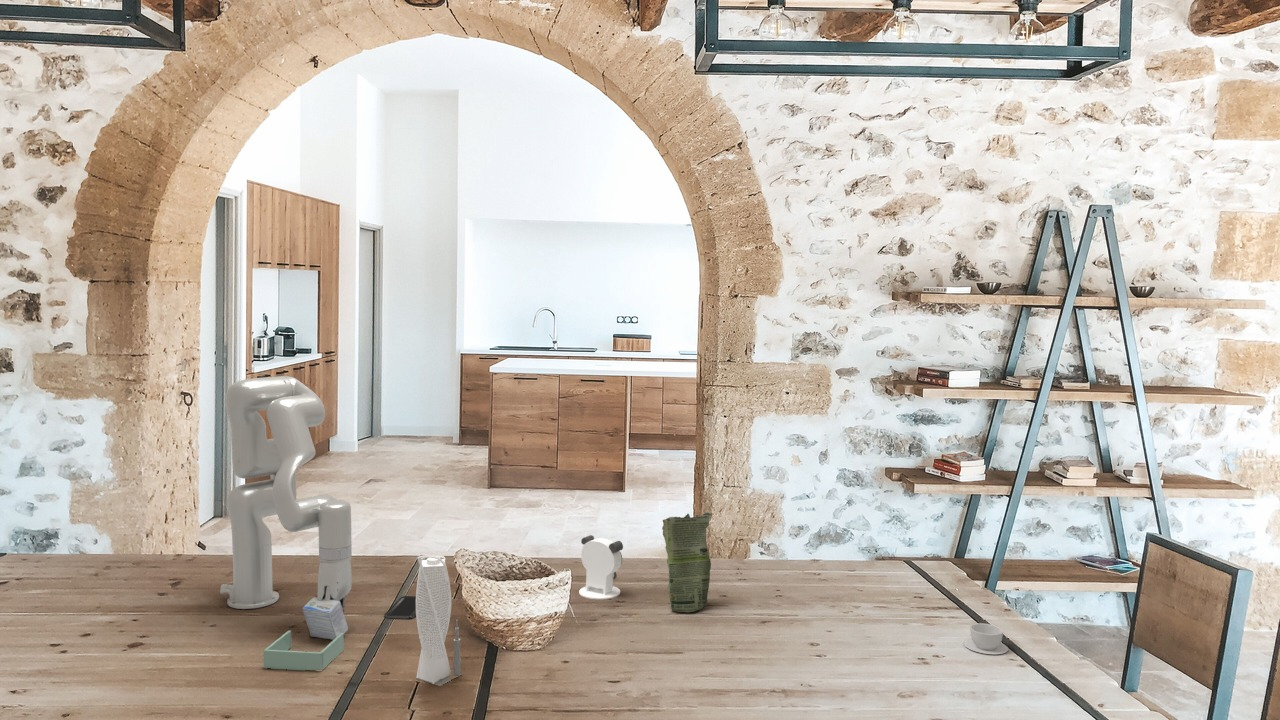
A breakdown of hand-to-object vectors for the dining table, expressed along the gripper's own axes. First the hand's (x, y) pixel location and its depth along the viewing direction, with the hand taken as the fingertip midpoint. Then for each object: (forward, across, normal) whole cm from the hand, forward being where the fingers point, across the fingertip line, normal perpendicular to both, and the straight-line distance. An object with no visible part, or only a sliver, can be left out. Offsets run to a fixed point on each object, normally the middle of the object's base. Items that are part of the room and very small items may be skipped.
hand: (336, 626), depth 226 cm
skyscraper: (+2, +23, +32) cm, 39 cm away
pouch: (+2, -27, +84) cm, 88 cm away
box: (+1, +17, 0) cm, 17 cm away
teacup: (+2, -8, +156) cm, 156 cm away
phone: (+2, -17, +12) cm, 21 cm away
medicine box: (+1, +3, 0) cm, 3 cm away
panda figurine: (+2, -36, +60) cm, 70 cm away
